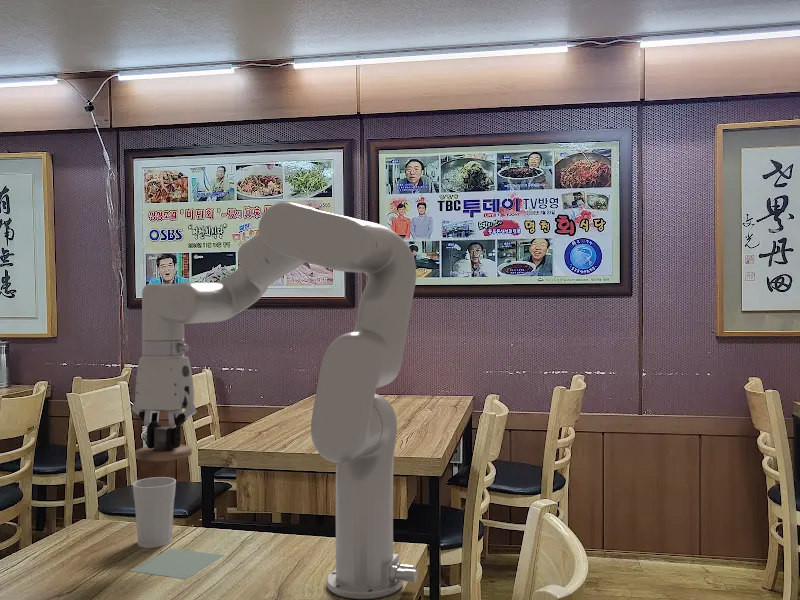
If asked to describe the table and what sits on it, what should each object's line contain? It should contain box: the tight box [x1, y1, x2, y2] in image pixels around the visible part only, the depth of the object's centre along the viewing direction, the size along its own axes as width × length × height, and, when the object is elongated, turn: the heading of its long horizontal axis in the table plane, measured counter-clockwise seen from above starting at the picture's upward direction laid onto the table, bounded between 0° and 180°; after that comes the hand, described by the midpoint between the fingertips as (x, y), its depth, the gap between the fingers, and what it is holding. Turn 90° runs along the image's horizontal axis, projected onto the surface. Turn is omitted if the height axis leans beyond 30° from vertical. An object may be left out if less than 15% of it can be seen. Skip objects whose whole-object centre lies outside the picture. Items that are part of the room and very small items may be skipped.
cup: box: [132, 476, 177, 549], centre depth 137 cm, size 8×8×12 cm
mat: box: [129, 548, 224, 580], centre depth 126 cm, size 12×12×1 cm
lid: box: [134, 426, 193, 462], centre depth 132 cm, size 10×10×5 cm
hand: (163, 446), depth 132 cm, fingers closed on lid, 3 cm apart
